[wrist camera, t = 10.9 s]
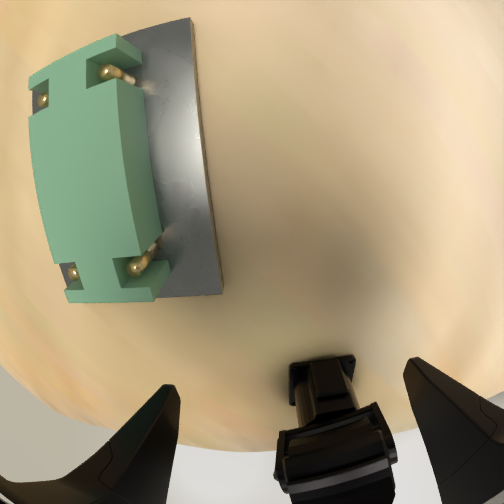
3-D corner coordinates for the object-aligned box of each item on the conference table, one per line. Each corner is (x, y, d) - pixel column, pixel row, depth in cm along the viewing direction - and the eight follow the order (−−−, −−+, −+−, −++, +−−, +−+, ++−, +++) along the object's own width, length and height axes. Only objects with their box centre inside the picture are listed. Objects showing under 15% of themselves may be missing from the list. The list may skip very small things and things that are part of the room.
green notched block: (170, 272, 19) (153, 301, 16) (93, 277, 19) (68, 303, 16) (141, 51, 13) (116, 33, 10) (61, 83, 14) (29, 77, 10)
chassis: (223, 286, 21) (216, 322, 17) (78, 293, 22) (52, 321, 17) (193, 23, 14) (177, -6, 9) (41, 80, 14) (5, 75, 10)
